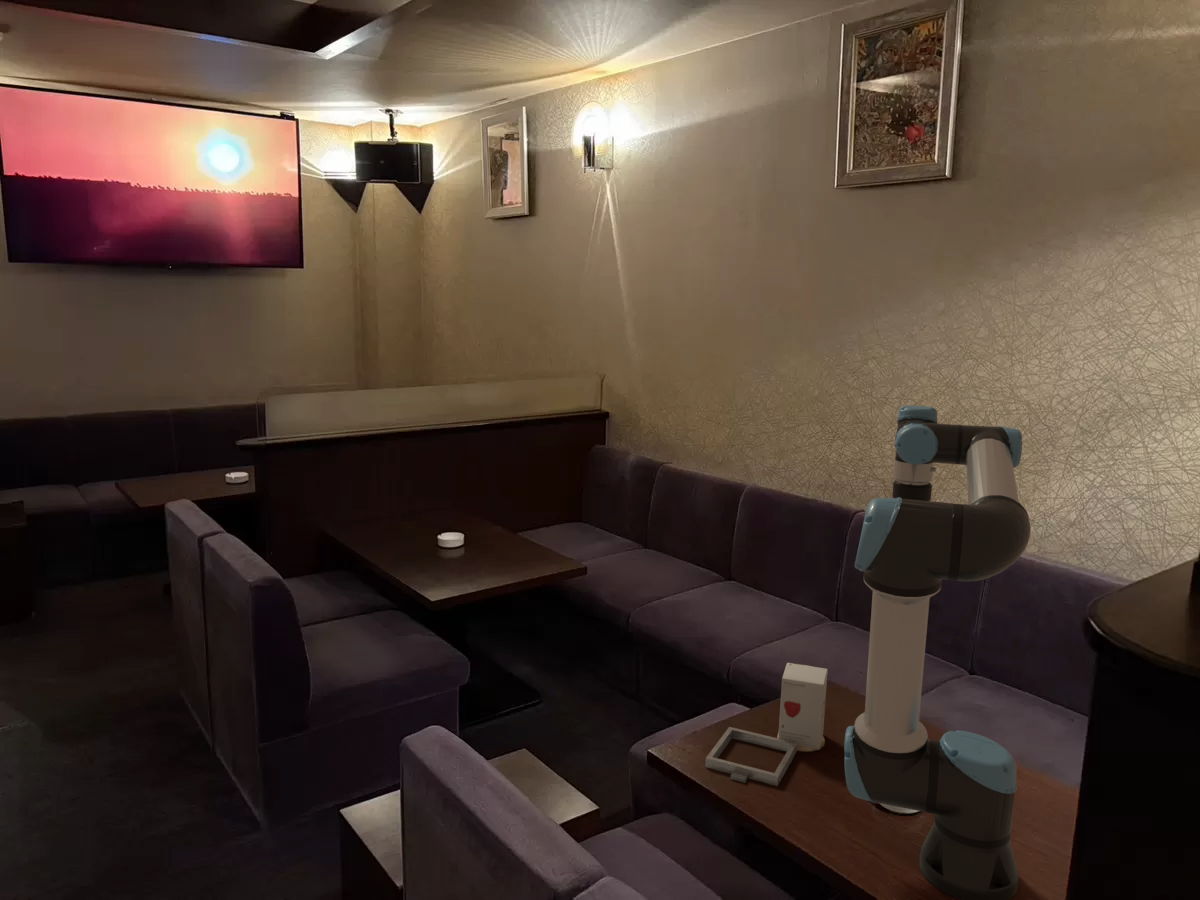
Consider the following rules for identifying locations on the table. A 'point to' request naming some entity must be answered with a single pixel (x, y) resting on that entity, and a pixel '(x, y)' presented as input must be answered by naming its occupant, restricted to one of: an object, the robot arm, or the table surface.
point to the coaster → (809, 748)
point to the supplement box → (803, 705)
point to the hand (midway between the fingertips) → (905, 580)
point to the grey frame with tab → (746, 772)
